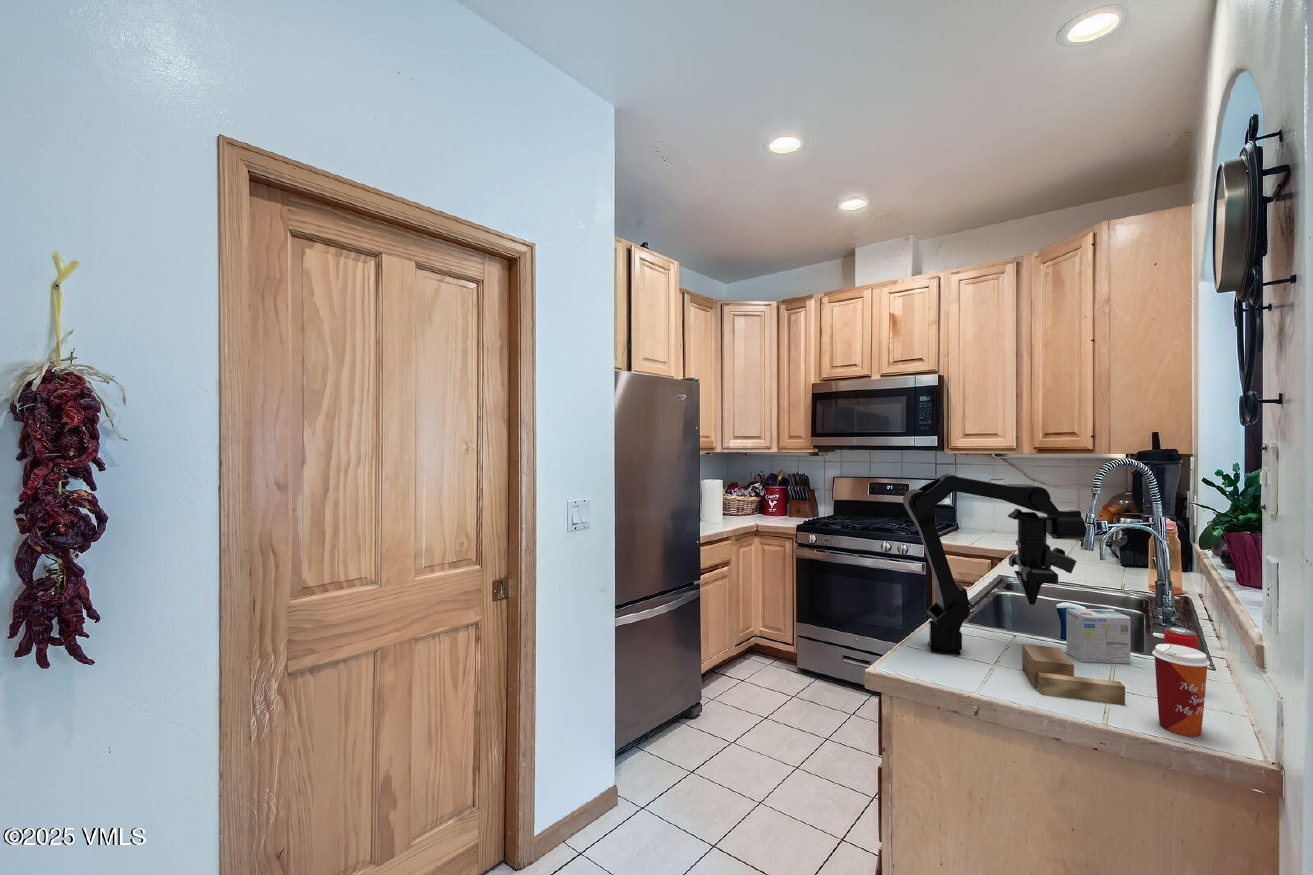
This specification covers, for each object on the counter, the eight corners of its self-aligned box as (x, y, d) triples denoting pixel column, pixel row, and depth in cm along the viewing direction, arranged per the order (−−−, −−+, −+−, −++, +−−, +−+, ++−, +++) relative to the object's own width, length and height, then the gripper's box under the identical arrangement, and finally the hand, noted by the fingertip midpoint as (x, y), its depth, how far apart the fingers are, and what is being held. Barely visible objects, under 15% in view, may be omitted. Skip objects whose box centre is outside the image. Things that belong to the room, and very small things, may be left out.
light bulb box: (1112, 653, 141) (1112, 608, 141) (1132, 664, 134) (1132, 617, 134) (1064, 652, 142) (1064, 607, 142) (1081, 663, 135) (1082, 616, 135)
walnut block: (1033, 689, 122) (1033, 660, 122) (1022, 670, 131) (1022, 643, 131) (1073, 694, 120) (1074, 664, 120) (1059, 675, 129) (1059, 647, 129)
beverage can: (1190, 696, 118) (1190, 636, 118) (1158, 686, 123) (1159, 628, 123) (1202, 691, 120) (1202, 632, 120) (1170, 681, 125) (1171, 625, 125)
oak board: (1041, 694, 119) (1041, 676, 119) (1037, 689, 122) (1037, 672, 122) (1125, 704, 115) (1125, 686, 115) (1119, 699, 117) (1120, 681, 117)
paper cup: (1194, 743, 100) (1195, 661, 100) (1142, 723, 107) (1142, 646, 107) (1219, 734, 103) (1219, 654, 103) (1166, 714, 111) (1167, 640, 110)
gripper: (1086, 548, 128) (1085, 619, 128) (1060, 533, 146) (1059, 597, 146) (1026, 544, 132) (1026, 614, 132) (1008, 531, 150) (1008, 593, 150)
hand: (1031, 604), depth 140 cm, fingers closed
